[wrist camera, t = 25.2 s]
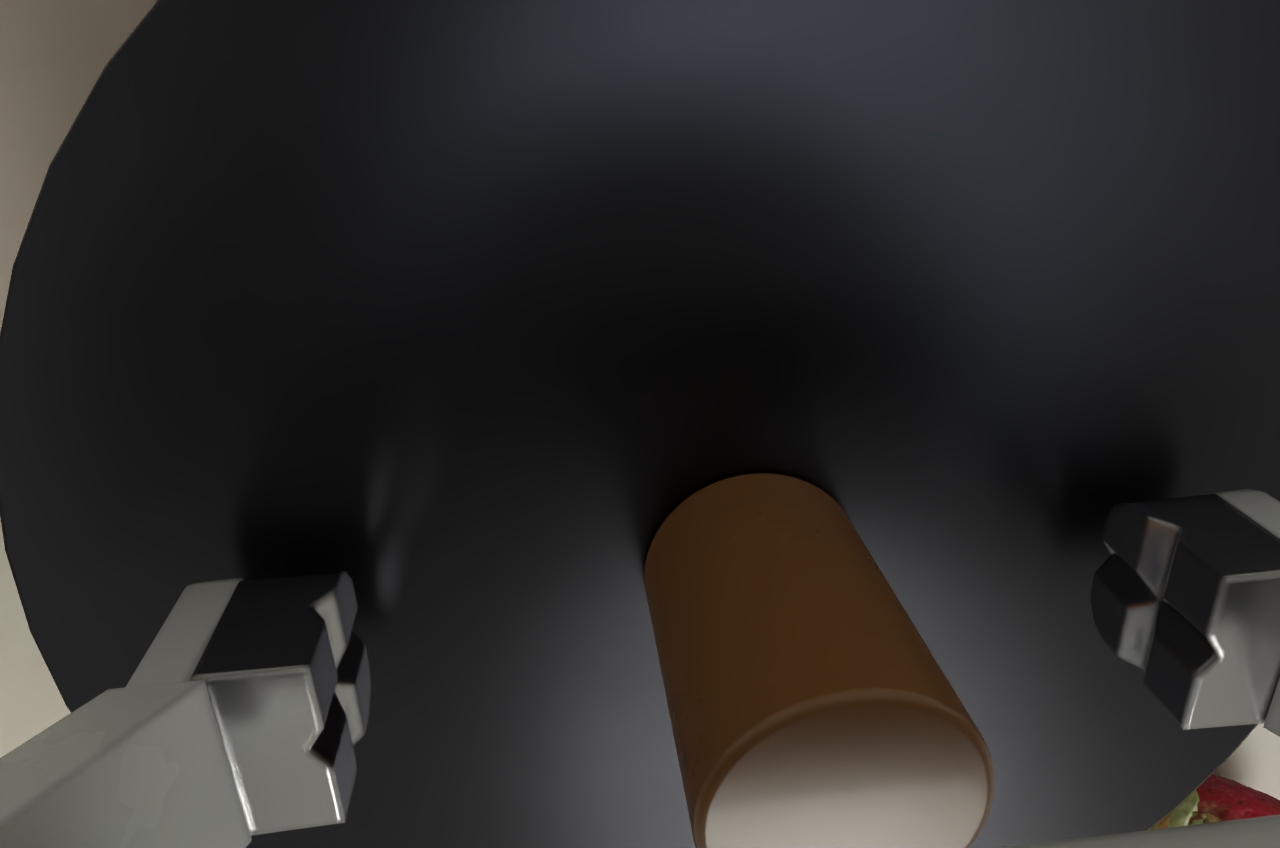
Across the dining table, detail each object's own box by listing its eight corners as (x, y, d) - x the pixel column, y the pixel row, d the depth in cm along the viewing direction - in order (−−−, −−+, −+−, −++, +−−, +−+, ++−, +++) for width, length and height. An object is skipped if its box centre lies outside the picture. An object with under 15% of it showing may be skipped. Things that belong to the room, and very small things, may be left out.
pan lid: (228, 998, 14) (96, 1427, 10) (-214, -230, 7) (-1200, -538, 3) (1189, 877, 15) (1439, 1209, 11) (1543, -269, 9) (2499, -524, 4)
